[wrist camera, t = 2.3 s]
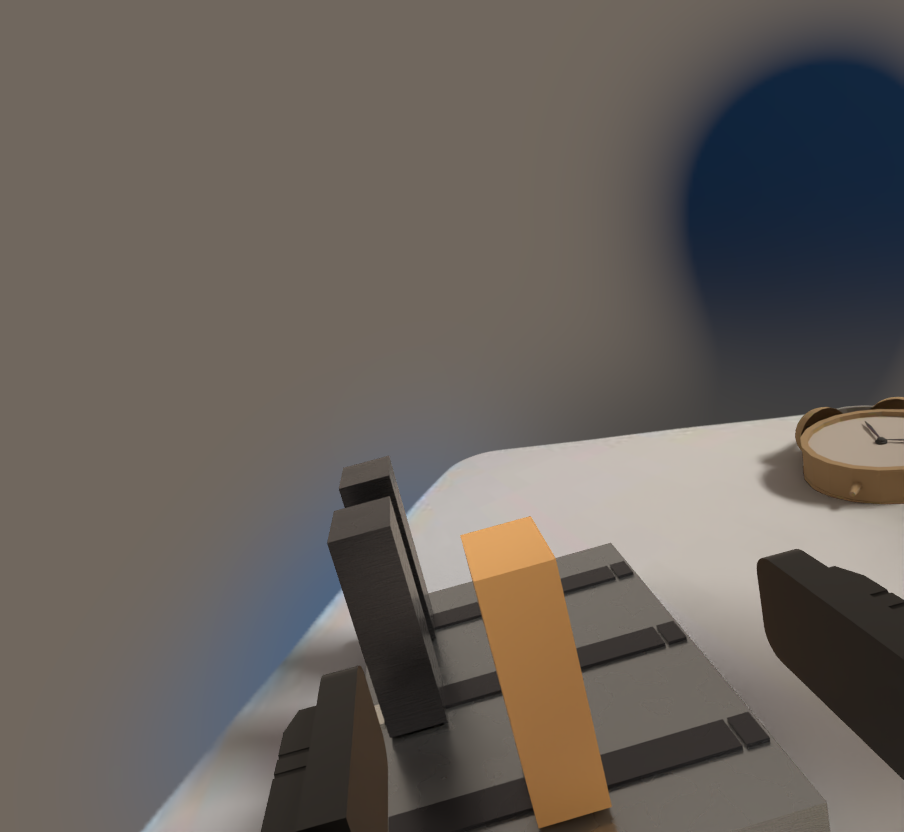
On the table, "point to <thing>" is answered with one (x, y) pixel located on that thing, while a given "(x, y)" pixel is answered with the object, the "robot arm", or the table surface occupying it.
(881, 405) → the alarm clock
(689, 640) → the grey slotted base
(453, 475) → the table surface
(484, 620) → the orange rectangular block
